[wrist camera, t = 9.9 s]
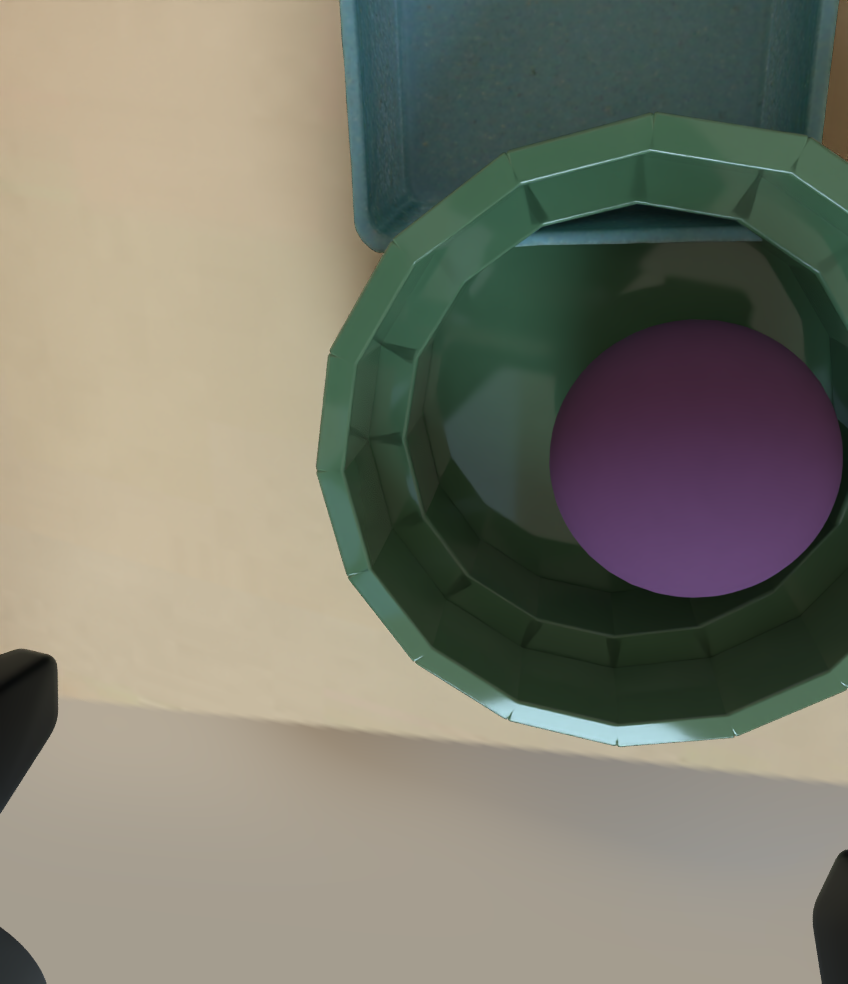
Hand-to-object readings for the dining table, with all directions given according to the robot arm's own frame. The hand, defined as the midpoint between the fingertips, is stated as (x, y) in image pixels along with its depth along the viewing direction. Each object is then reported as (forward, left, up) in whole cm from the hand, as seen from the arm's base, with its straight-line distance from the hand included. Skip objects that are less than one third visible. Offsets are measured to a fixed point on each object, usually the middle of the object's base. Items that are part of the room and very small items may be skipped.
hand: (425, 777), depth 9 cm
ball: (+2, -4, -9) cm, 10 cm away
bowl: (+2, -3, -12) cm, 13 cm away
